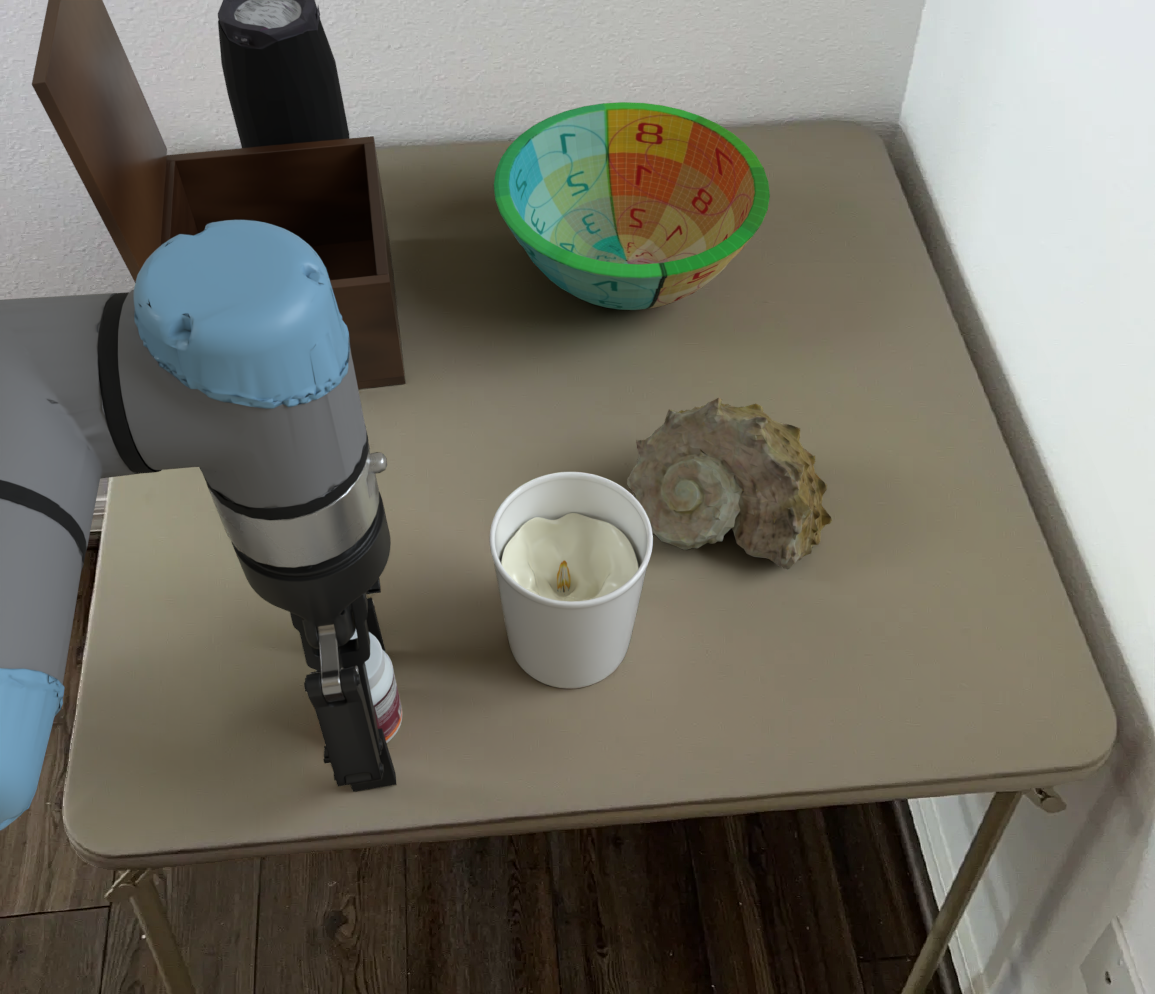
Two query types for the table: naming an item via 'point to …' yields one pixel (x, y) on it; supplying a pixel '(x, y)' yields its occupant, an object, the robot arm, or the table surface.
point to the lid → (103, 123)
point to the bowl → (631, 201)
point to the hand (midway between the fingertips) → (369, 717)
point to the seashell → (731, 482)
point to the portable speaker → (280, 73)
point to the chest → (307, 226)
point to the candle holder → (570, 575)
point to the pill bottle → (383, 689)
